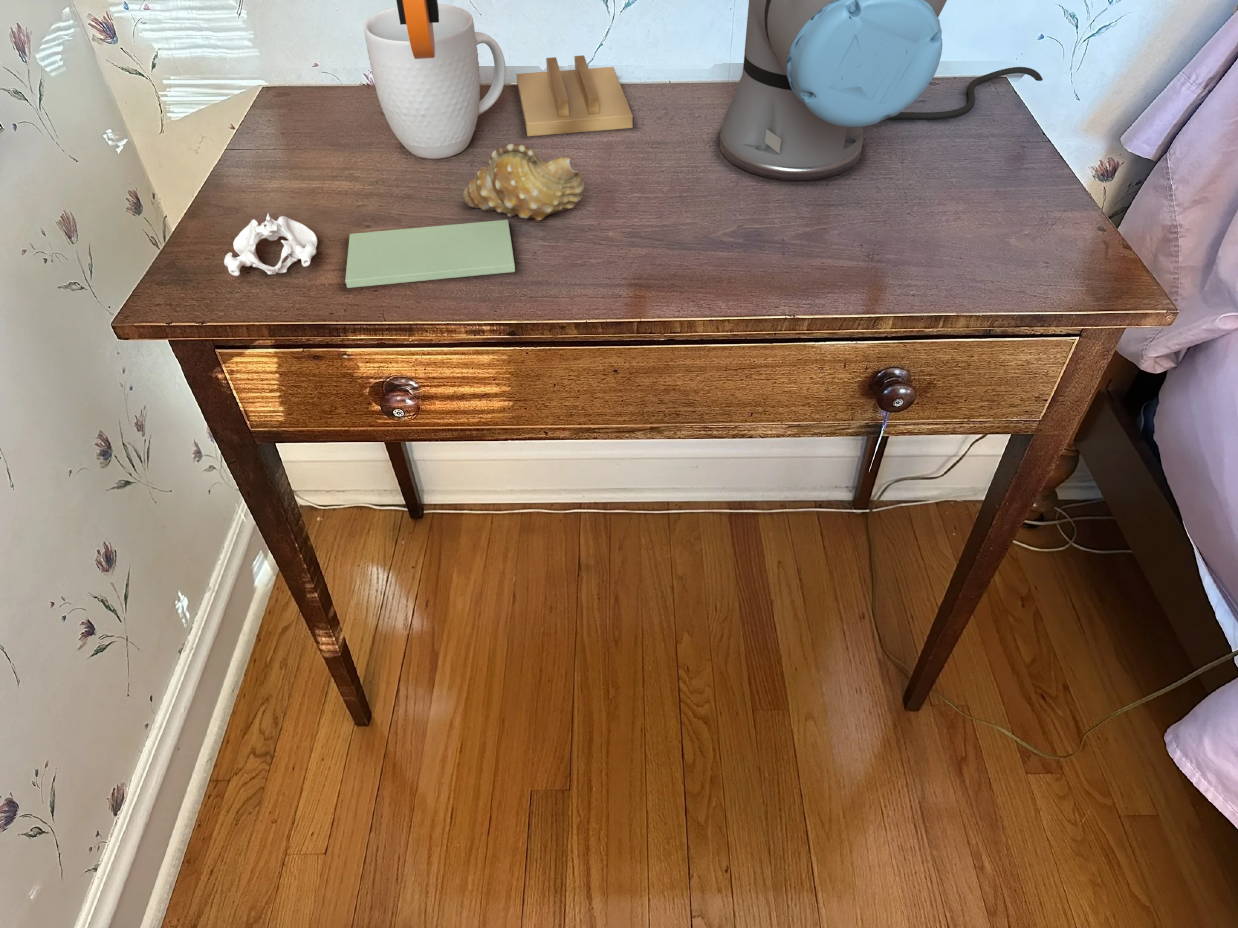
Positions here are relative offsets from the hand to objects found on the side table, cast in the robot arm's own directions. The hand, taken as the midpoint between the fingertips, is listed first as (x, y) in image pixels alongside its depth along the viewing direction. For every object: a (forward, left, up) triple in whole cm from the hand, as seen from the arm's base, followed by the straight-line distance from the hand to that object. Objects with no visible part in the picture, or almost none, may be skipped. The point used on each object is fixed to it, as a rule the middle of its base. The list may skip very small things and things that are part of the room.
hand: (419, 17), depth 73 cm
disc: (0, 0, -3) cm, 3 cm away
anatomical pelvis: (+16, +3, -20) cm, 26 cm away
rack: (-15, -26, -20) cm, 36 cm away
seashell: (-9, -4, -16) cm, 19 cm away
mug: (0, -19, -20) cm, 27 cm away
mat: (+2, +4, -19) cm, 20 cm away
